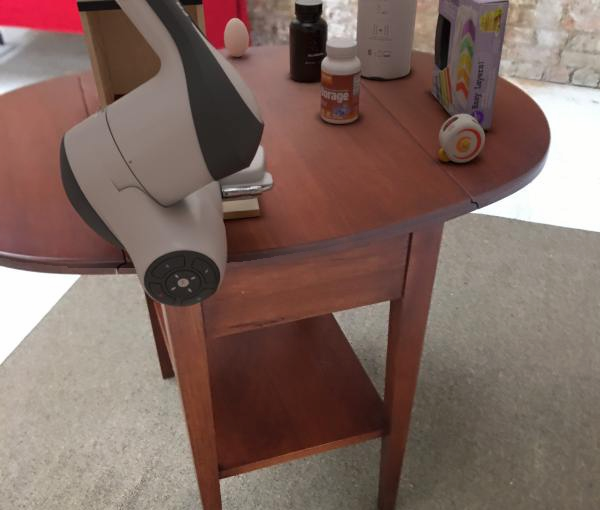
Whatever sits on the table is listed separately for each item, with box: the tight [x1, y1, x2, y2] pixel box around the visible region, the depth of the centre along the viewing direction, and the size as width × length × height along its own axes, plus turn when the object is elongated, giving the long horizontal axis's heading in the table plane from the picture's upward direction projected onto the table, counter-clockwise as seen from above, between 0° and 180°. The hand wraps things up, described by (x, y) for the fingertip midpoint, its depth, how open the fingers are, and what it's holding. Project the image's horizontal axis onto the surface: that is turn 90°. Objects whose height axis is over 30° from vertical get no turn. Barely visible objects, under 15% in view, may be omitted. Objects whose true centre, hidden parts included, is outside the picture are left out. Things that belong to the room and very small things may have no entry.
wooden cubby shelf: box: [75, 0, 207, 109], centre depth 102 cm, size 18×13×18 cm
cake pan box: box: [430, 0, 510, 132], centre depth 98 cm, size 19×5×18 cm, turn 7°
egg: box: [223, 17, 250, 58], centre depth 123 cm, size 5×5×7 cm
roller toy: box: [438, 114, 486, 164], centre depth 89 cm, size 4×6×6 cm
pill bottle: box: [320, 37, 362, 125], centre depth 99 cm, size 6×6×11 cm
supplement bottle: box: [288, 0, 329, 83], centre depth 112 cm, size 7×7×12 cm
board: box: [222, 198, 261, 220], centre depth 83 cm, size 18×9×1 cm, turn 98°
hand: (179, 146), depth 78 cm, fingers open, 6 cm apart
